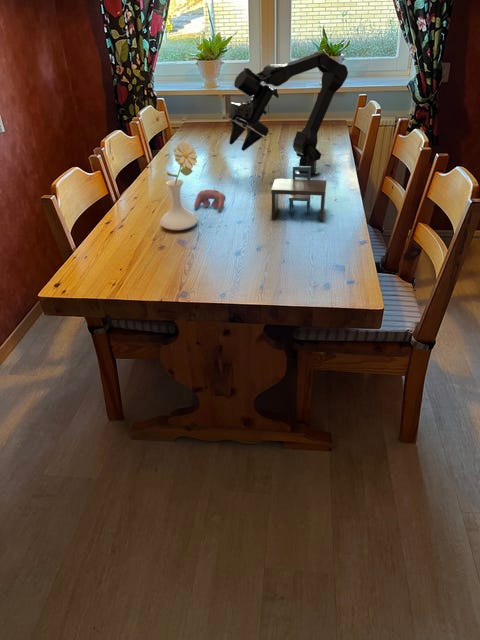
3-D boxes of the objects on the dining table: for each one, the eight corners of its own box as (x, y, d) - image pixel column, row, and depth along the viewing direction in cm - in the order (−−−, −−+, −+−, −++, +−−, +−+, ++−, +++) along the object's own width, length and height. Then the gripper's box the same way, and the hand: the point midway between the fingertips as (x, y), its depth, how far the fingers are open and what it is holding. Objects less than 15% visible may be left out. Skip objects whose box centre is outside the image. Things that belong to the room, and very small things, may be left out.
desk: (275, 208, 162) (275, 178, 156) (324, 210, 159) (326, 180, 154) (271, 220, 154) (271, 189, 148) (323, 222, 151) (325, 191, 146)
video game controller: (225, 213, 164) (227, 191, 162) (220, 212, 159) (223, 189, 158) (197, 210, 166) (200, 189, 165) (192, 209, 162) (194, 187, 161)
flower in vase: (168, 237, 146) (157, 151, 132) (155, 223, 155) (144, 141, 141) (208, 227, 151) (202, 143, 137) (194, 214, 159) (186, 134, 145)
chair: (290, 205, 163) (291, 165, 156) (310, 206, 162) (312, 166, 155) (288, 213, 158) (289, 172, 151) (308, 213, 157) (310, 173, 150)
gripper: (228, 86, 167) (206, 130, 171) (254, 95, 153) (230, 142, 157) (252, 103, 174) (231, 144, 178) (279, 113, 160) (255, 157, 164)
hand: (236, 147), depth 169 cm, fingers open, 9 cm apart
